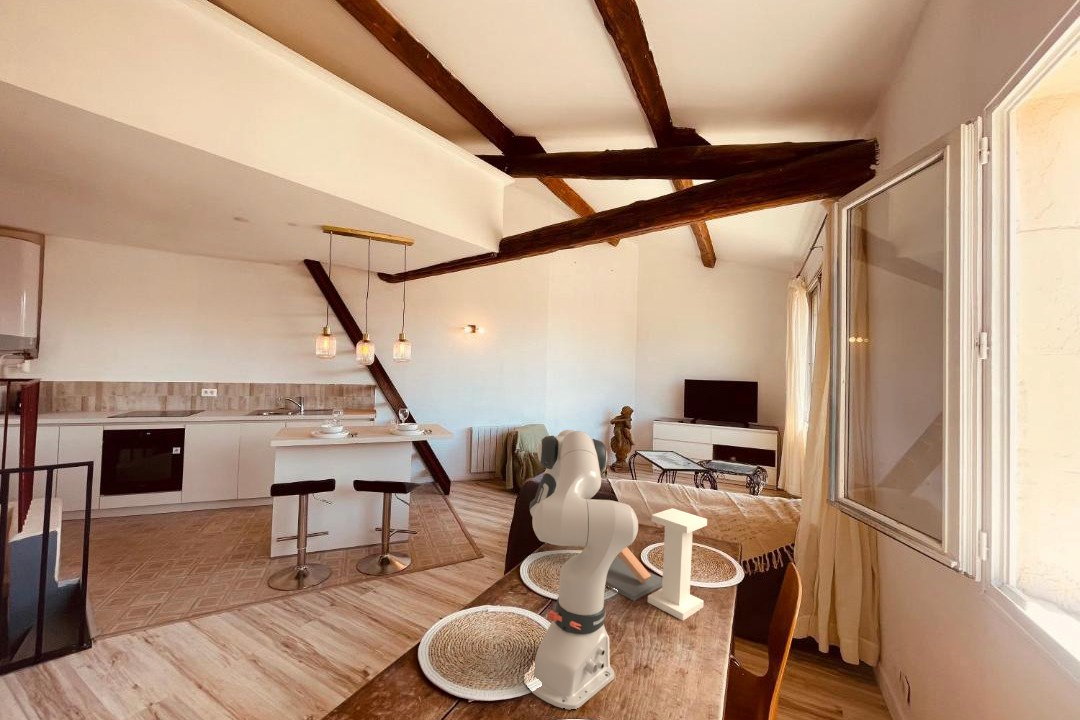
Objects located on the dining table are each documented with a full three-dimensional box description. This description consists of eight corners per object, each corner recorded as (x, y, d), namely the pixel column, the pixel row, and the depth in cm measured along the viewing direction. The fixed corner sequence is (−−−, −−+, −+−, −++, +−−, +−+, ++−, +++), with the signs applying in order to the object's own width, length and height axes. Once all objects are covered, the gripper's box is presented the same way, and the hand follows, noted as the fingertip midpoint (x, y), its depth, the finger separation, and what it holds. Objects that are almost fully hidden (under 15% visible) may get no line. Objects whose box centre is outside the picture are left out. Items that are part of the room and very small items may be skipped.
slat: (595, 526, 154) (597, 522, 153) (602, 524, 157) (604, 520, 156) (641, 583, 138) (644, 579, 138) (648, 579, 141) (651, 575, 140)
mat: (573, 568, 151) (573, 564, 151) (606, 556, 163) (606, 552, 163) (633, 601, 132) (633, 596, 132) (665, 584, 144) (665, 579, 144)
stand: (647, 602, 132) (651, 514, 132) (668, 590, 140) (672, 508, 140) (682, 620, 123) (687, 526, 123) (703, 607, 131) (707, 519, 131)
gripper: (560, 515, 156) (587, 527, 146) (596, 506, 170) (624, 516, 159) (559, 532, 156) (587, 545, 146) (595, 522, 169) (623, 533, 159)
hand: (606, 530), depth 153 cm, fingers closed on slat, 4 cm apart
